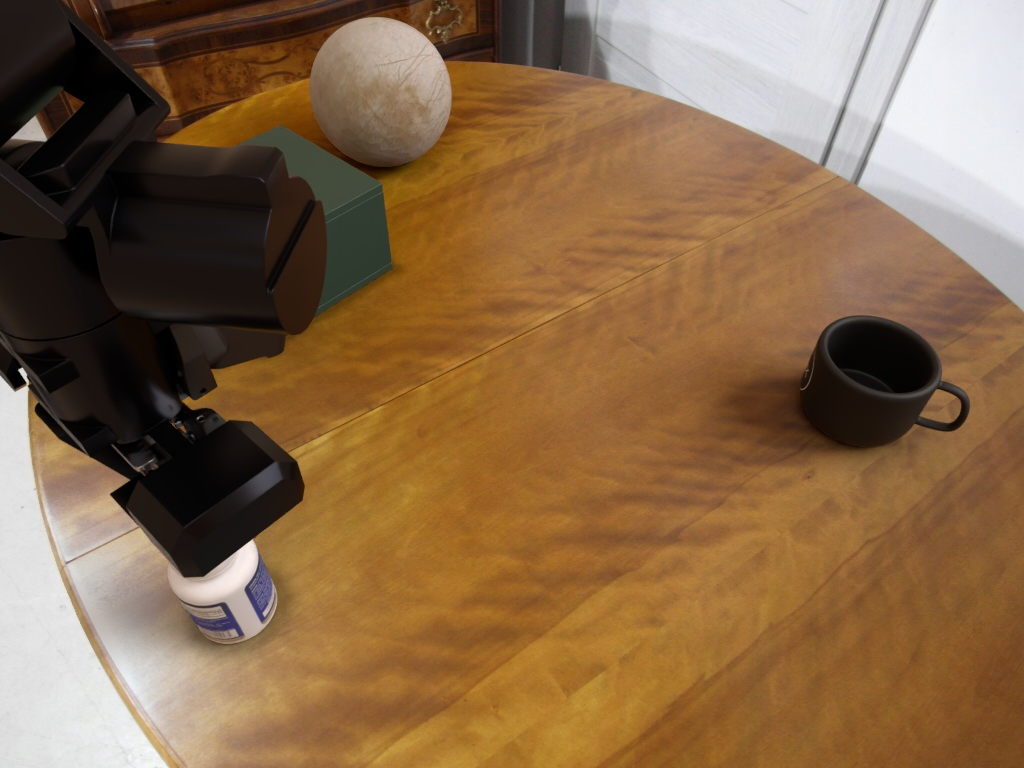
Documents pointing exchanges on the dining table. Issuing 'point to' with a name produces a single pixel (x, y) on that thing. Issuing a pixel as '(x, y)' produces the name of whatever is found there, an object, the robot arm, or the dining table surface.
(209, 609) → the pill bottle
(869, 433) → the mug
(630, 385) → the dining table surface
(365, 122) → the decorative sphere
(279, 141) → the cabinet
